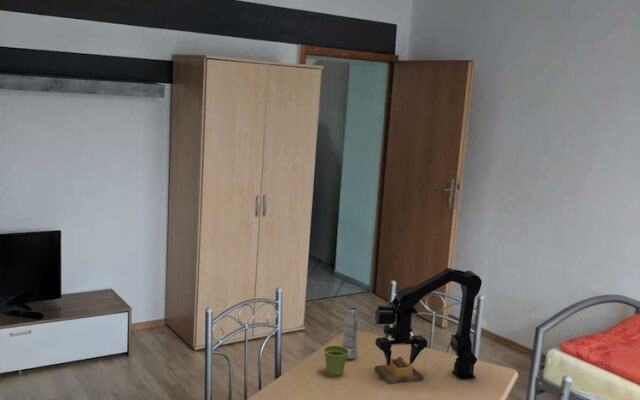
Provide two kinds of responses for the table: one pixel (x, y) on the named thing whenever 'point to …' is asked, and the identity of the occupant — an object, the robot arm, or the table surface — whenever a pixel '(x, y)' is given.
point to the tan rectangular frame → (400, 372)
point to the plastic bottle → (351, 332)
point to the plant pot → (335, 359)
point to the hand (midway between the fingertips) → (399, 364)
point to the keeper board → (392, 379)
